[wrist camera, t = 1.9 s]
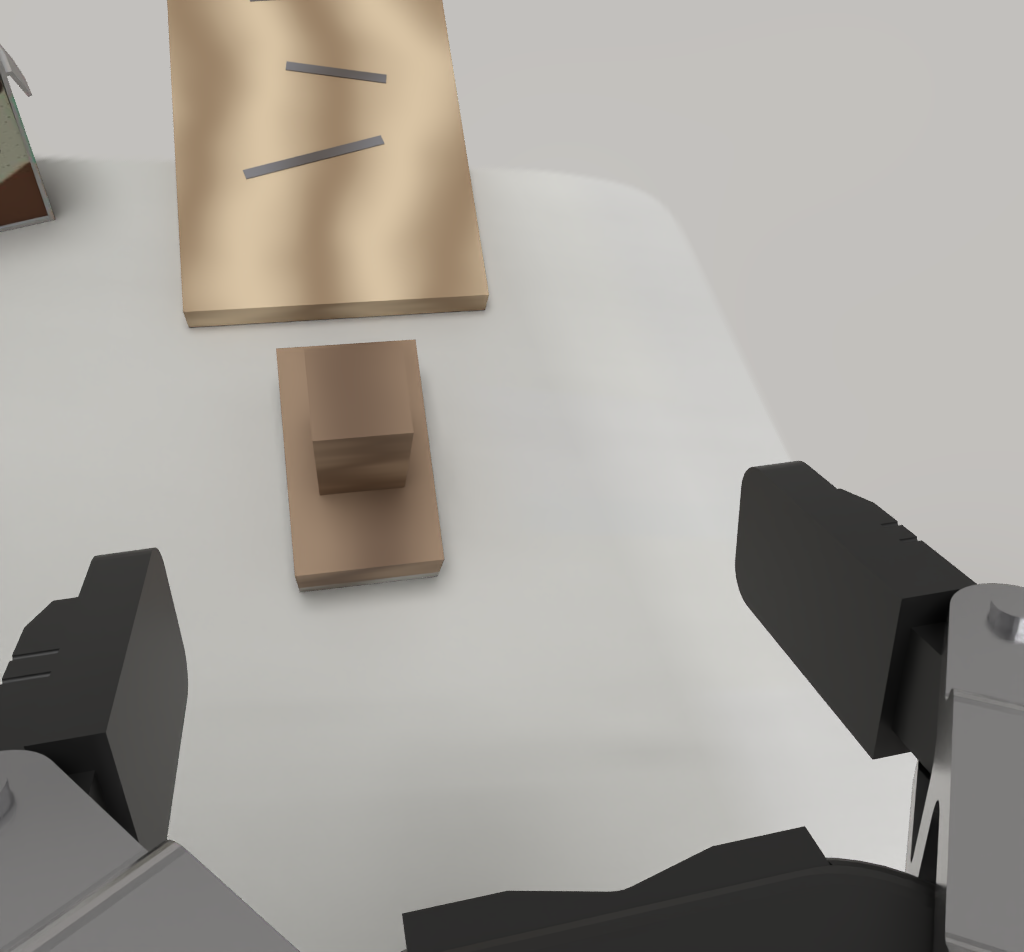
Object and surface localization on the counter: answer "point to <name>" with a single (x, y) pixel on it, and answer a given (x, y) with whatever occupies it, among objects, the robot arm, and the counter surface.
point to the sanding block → (358, 465)
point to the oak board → (320, 162)
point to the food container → (18, 160)
